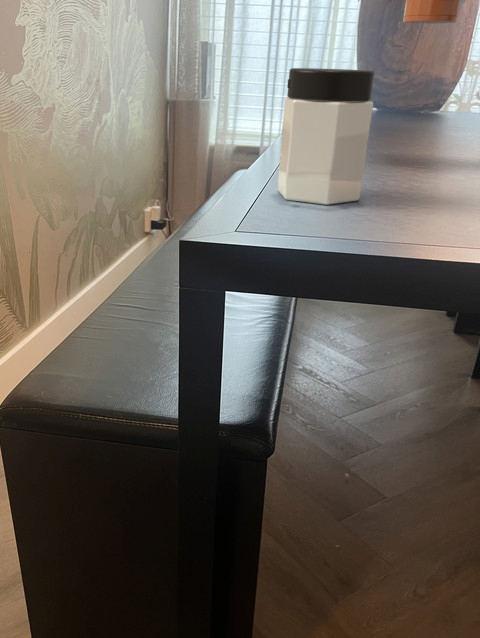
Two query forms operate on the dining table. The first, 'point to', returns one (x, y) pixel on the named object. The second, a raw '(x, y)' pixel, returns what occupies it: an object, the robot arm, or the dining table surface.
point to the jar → (325, 135)
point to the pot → (431, 11)
